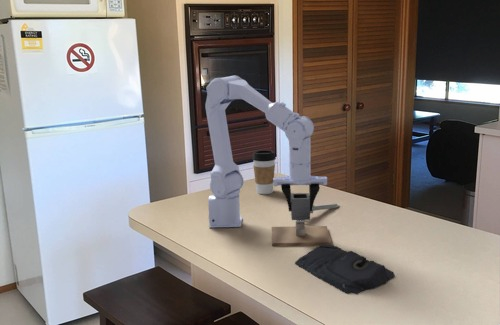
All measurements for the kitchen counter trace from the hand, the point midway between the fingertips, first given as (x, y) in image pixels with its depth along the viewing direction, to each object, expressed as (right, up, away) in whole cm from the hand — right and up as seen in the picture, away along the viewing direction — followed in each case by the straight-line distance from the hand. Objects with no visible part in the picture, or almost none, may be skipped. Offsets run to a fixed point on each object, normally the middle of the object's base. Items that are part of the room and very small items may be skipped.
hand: (300, 210), depth 145 cm
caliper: (+8, -3, +20) cm, 22 cm away
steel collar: (0, -2, 0) cm, 2 cm away
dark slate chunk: (+9, -13, -19) cm, 25 cm away
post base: (0, -8, +2) cm, 9 cm away
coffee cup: (-9, +2, +44) cm, 45 cm away
